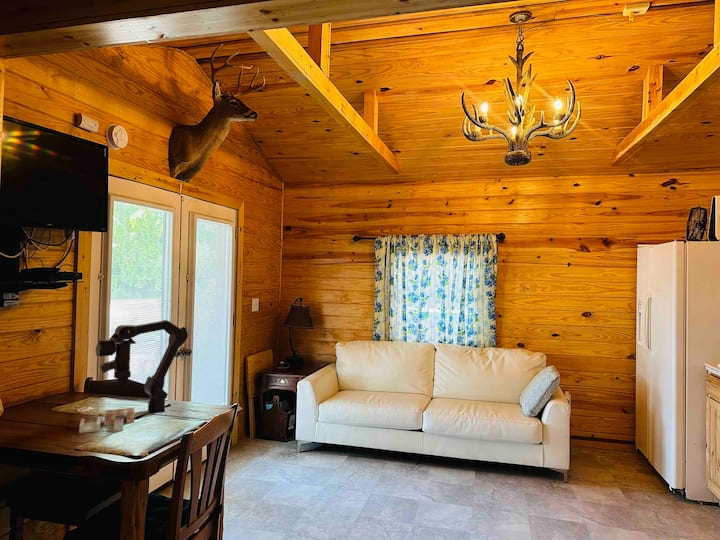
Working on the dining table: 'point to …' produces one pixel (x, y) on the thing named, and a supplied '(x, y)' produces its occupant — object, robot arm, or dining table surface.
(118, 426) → the pinkish brown square bar
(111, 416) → the tan u-shaped block
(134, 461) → the dining table surface
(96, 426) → the cradle
